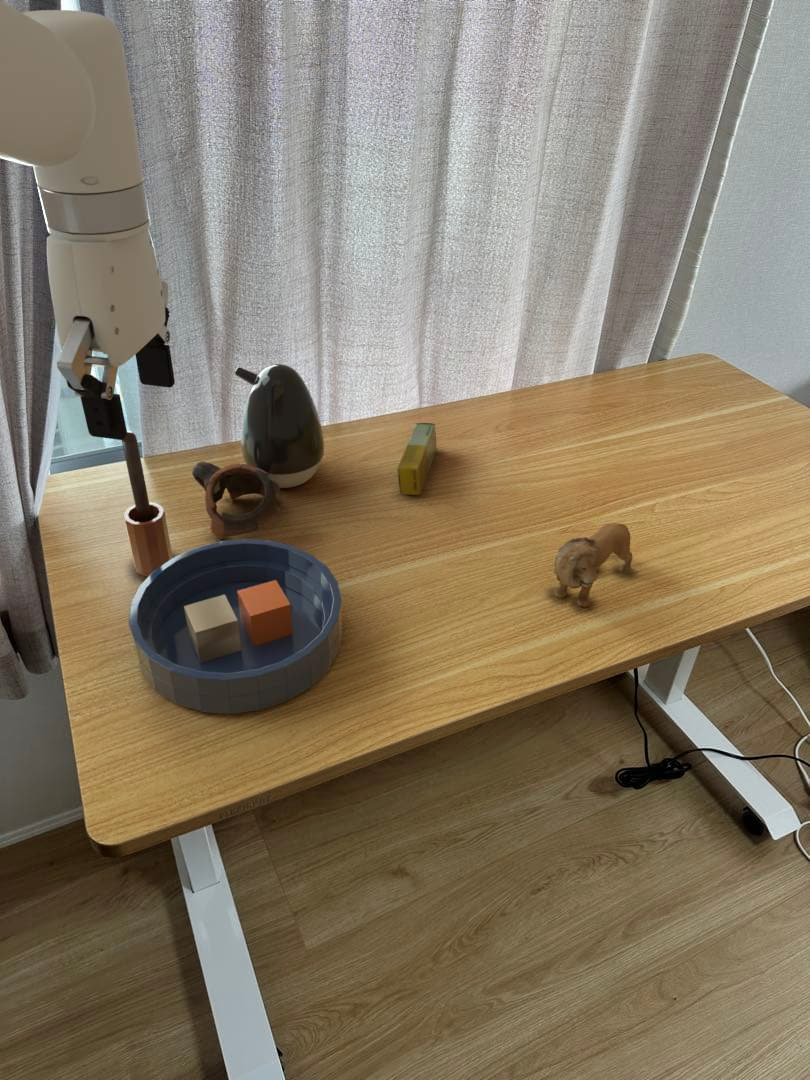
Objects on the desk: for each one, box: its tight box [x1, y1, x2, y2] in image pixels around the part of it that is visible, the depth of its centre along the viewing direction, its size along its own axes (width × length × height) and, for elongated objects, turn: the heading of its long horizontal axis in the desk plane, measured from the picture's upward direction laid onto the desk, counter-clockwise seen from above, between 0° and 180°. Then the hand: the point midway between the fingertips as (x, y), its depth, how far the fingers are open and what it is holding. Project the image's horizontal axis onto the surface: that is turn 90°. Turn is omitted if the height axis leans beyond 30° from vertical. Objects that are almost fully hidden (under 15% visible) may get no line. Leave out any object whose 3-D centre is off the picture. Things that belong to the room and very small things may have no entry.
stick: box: [121, 430, 152, 522], centre depth 83 cm, size 1×1×16 cm
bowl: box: [128, 538, 343, 715], centre depth 78 cm, size 20×20×5 cm
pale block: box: [184, 595, 241, 663], centre depth 77 cm, size 4×4×4 cm
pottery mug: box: [191, 461, 281, 540], centre depth 94 cm, size 12×10×8 cm
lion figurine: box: [553, 522, 633, 608], centre depth 85 cm, size 15×5×9 cm, turn 144°
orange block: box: [237, 580, 292, 646], centre depth 79 cm, size 4×4×4 cm
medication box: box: [397, 422, 438, 496], centre depth 103 cm, size 12×3×4 cm, turn 168°
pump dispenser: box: [234, 363, 325, 489], centre depth 98 cm, size 10×10×15 cm
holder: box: [122, 501, 174, 578], centre depth 86 cm, size 4×4×7 cm
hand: (134, 409), depth 71 cm, fingers open, 9 cm apart
